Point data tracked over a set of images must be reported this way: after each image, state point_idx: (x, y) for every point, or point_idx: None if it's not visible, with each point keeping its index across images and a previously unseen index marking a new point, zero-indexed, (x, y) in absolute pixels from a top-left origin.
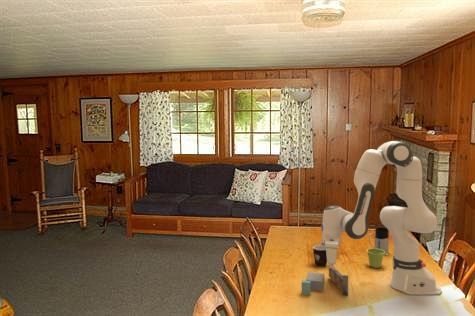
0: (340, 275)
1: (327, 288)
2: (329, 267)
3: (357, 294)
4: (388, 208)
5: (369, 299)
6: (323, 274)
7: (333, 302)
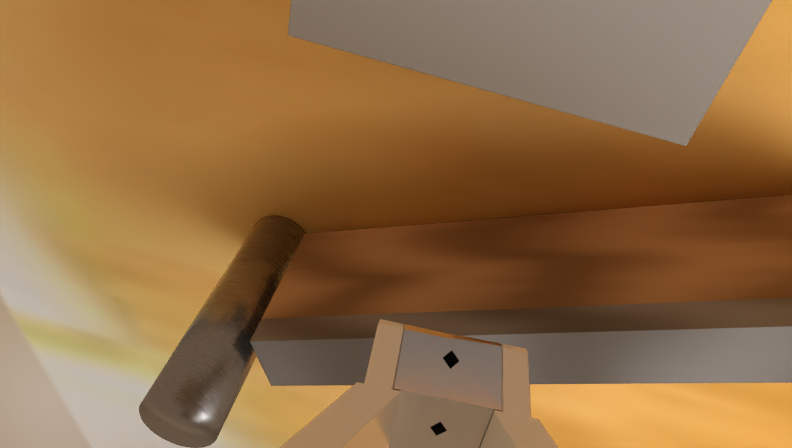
0: None
1: (441, 79)
2: (379, 328)
3: None
4: None
5: None
6: (650, 119)
7: (48, 71)
